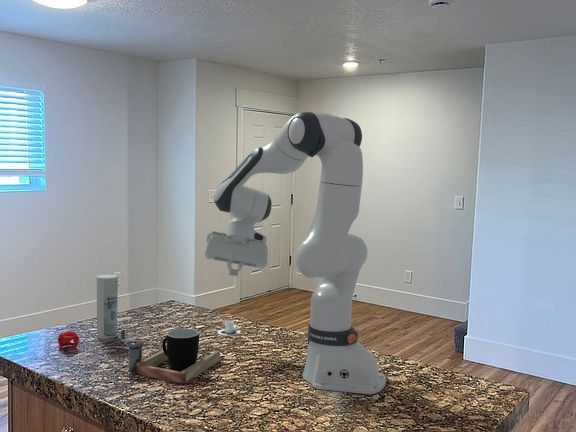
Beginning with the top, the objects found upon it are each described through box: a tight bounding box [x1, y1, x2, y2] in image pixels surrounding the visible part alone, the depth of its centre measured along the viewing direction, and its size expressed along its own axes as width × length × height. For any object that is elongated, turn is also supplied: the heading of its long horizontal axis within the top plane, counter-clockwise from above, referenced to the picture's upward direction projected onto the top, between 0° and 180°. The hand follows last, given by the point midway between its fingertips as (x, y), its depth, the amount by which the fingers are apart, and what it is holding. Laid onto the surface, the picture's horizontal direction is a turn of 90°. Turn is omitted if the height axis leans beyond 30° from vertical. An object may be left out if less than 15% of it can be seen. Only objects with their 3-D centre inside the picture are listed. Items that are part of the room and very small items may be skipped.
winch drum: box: [120, 329, 145, 373], centre depth 149 cm, size 7×5×11 cm, turn 68°
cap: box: [57, 330, 80, 350], centre depth 165 cm, size 7×6×6 cm
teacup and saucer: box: [217, 320, 241, 337], centre depth 187 cm, size 9×8×4 cm
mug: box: [161, 327, 200, 372], centre depth 152 cm, size 12×9×10 cm
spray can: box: [96, 274, 119, 340], centre depth 178 cm, size 6×6×20 cm
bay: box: [135, 349, 221, 385], centre depth 152 cm, size 15×19×3 cm
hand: (233, 275), depth 172 cm, fingers closed
